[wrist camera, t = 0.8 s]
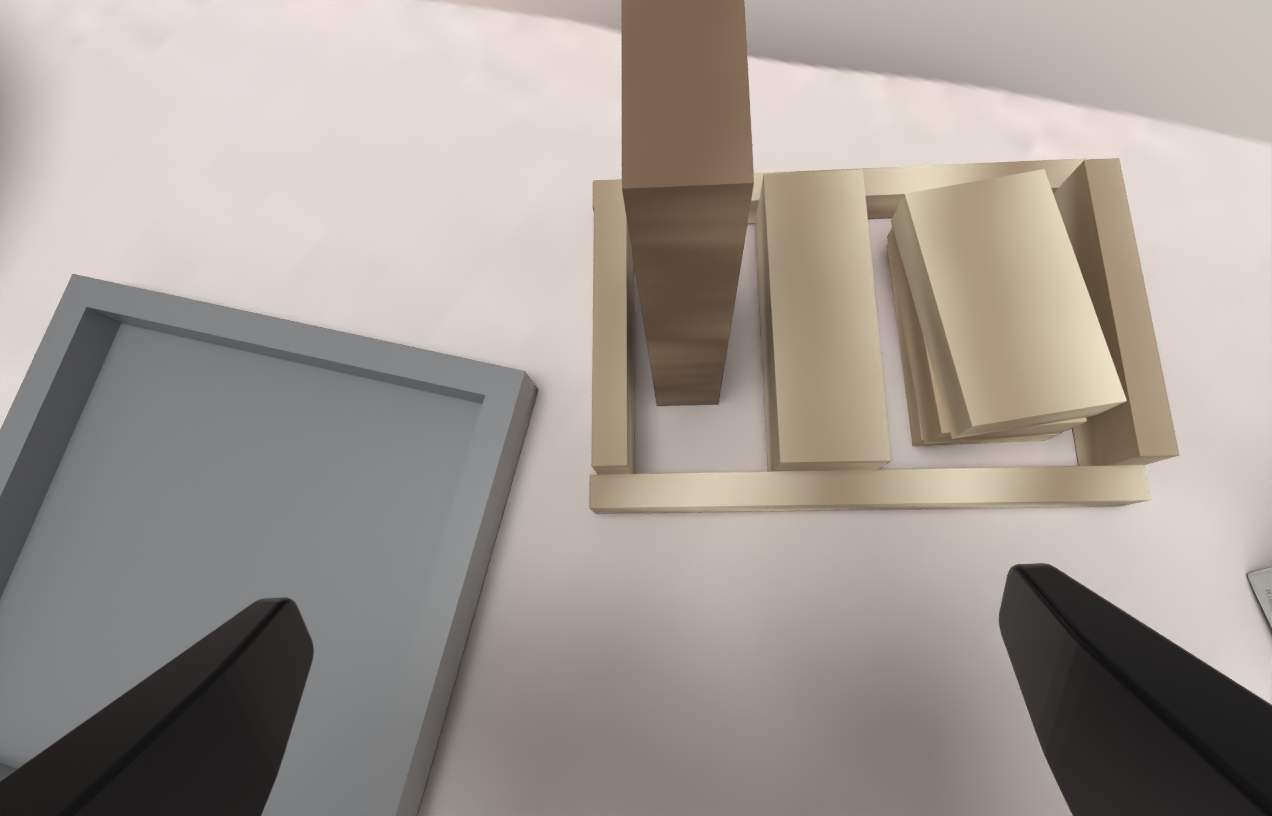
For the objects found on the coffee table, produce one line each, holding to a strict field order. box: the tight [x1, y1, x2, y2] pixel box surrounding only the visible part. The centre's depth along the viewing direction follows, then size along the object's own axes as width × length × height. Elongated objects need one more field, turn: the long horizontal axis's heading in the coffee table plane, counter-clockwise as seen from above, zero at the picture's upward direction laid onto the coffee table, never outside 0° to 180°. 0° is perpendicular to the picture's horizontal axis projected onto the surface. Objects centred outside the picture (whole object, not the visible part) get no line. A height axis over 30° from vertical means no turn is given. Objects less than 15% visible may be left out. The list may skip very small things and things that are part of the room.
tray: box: [0, 274, 538, 816], centre depth 22 cm, size 16×16×2 cm
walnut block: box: [622, 0, 754, 406], centre depth 18 cm, size 2×4×13 cm, turn 1°
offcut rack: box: [589, 158, 1179, 513], centre depth 22 cm, size 16×11×3 cm
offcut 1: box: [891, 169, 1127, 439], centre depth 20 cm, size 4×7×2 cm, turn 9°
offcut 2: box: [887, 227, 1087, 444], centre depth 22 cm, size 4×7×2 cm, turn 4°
